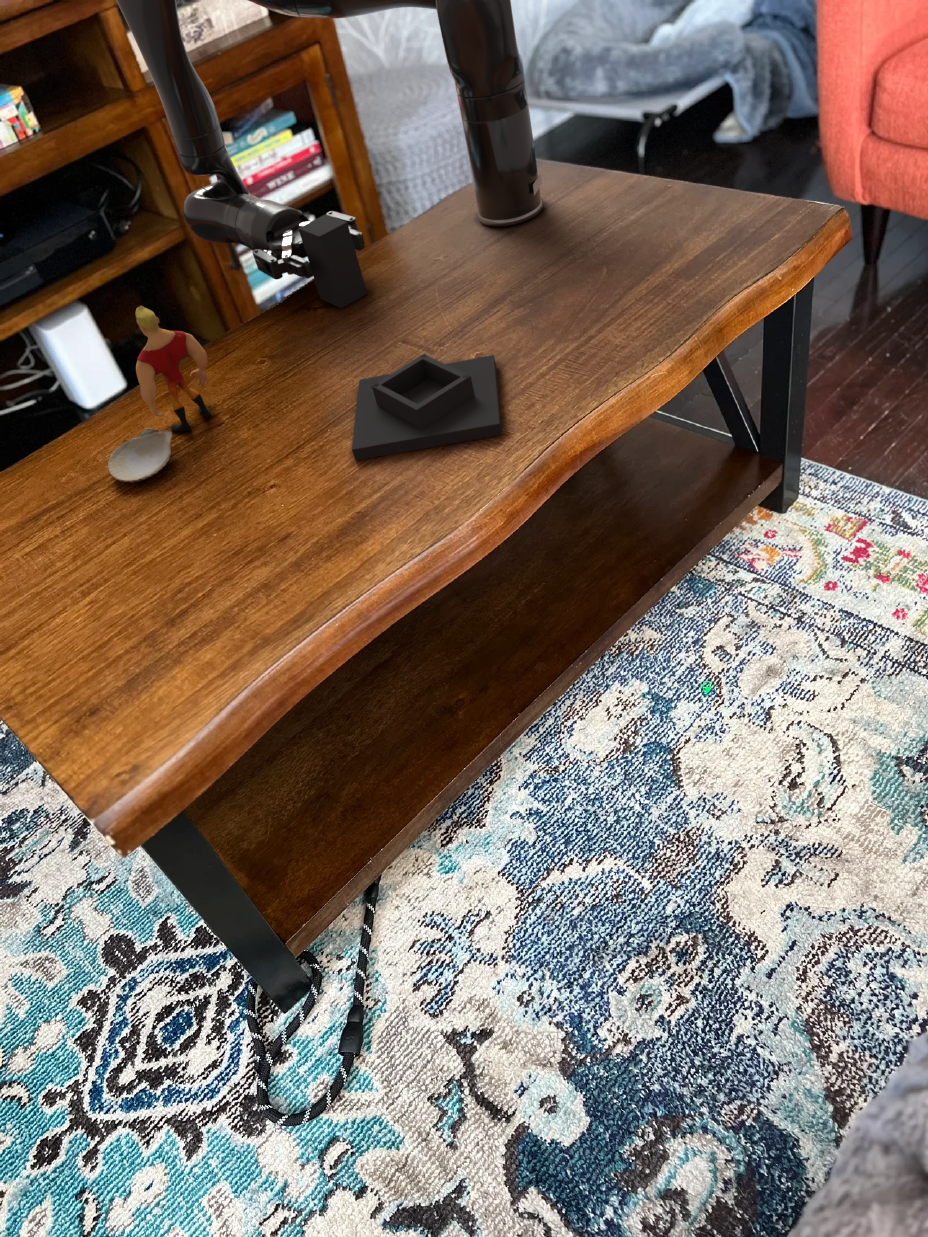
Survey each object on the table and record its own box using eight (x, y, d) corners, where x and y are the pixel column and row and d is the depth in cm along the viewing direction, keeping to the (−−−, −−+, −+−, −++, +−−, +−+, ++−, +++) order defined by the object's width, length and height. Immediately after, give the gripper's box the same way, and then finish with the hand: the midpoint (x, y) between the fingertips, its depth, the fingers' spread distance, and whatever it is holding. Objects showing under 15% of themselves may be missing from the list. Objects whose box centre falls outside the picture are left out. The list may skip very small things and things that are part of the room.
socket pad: (362, 390, 113) (353, 360, 110) (496, 365, 111) (490, 334, 108) (355, 460, 103) (345, 430, 100) (502, 435, 101) (495, 403, 98)
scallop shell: (113, 492, 111) (151, 493, 106) (94, 473, 109) (132, 473, 104) (154, 441, 115) (193, 439, 110) (136, 422, 113) (175, 420, 108)
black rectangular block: (320, 298, 132) (297, 228, 125) (346, 284, 133) (325, 213, 126) (341, 308, 129) (319, 236, 122) (367, 293, 130) (347, 221, 123)
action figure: (214, 397, 119) (164, 283, 108) (231, 403, 117) (183, 289, 106) (154, 438, 114) (96, 325, 104) (171, 446, 112) (114, 331, 102)
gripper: (221, 225, 131) (282, 251, 121) (305, 183, 136) (370, 205, 126) (240, 277, 136) (300, 306, 126) (321, 234, 141) (385, 259, 131)
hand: (335, 255), depth 126 cm, fingers open, 8 cm apart
